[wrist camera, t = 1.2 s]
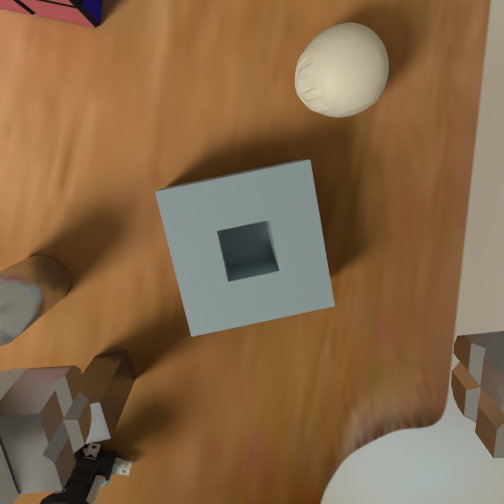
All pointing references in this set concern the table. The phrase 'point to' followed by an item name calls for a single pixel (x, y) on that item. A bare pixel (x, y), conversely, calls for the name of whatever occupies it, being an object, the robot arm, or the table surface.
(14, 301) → the round bit
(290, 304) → the socket block
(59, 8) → the puzzle cube
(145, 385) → the table surface
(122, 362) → the square bit
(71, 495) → the push button
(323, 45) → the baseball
